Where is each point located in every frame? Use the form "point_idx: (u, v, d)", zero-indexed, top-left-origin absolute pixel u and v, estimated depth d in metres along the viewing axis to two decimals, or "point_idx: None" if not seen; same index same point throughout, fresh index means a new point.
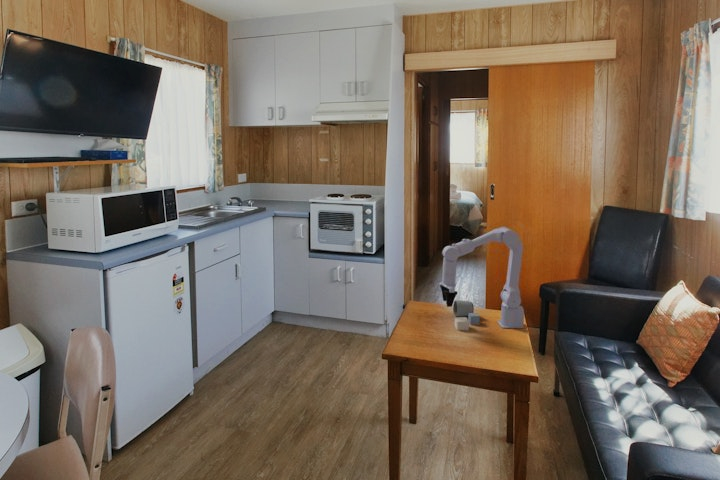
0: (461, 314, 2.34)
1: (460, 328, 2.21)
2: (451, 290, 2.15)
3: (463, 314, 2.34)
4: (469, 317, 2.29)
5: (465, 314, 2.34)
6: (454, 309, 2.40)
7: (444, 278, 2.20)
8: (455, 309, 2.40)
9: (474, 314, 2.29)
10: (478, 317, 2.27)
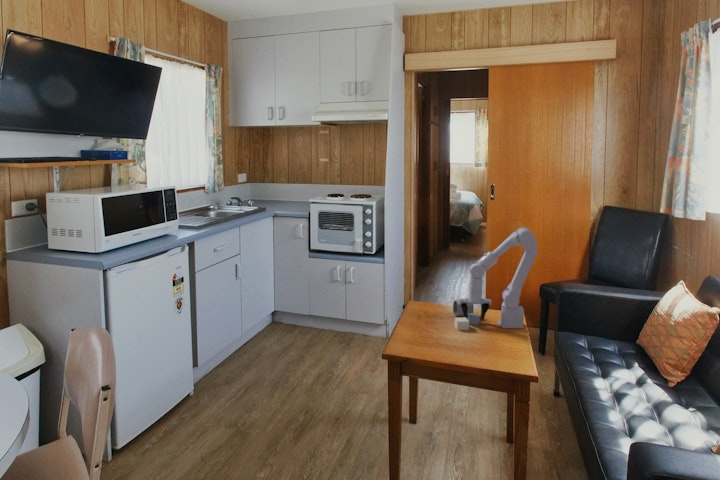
0: (461, 314, 2.34)
1: (460, 328, 2.20)
2: (458, 301, 2.27)
3: None
4: (469, 317, 2.29)
5: None
6: (454, 309, 2.40)
7: None
8: (455, 309, 2.40)
9: (474, 314, 2.29)
10: (478, 317, 2.27)
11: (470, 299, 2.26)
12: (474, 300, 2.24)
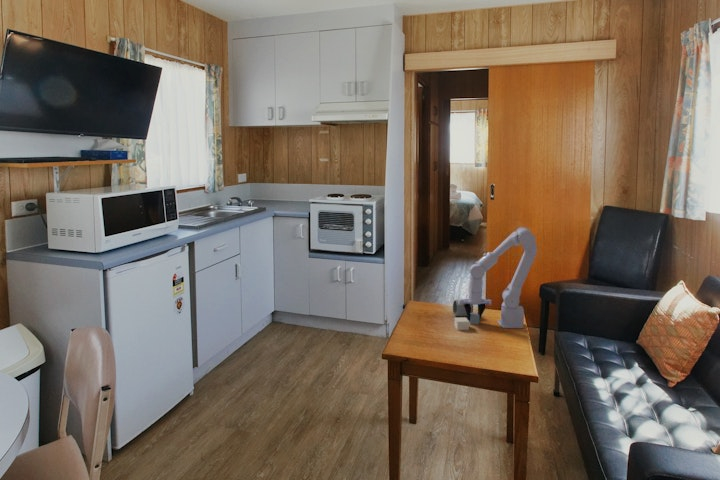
0: (460, 314, 2.35)
1: (460, 328, 2.20)
2: (458, 302, 2.27)
3: (462, 314, 2.35)
4: None
5: (464, 314, 2.35)
6: (454, 309, 2.41)
7: None
8: (455, 309, 2.41)
9: (474, 314, 2.29)
10: (478, 317, 2.27)
11: (470, 299, 2.26)
12: (474, 300, 2.24)
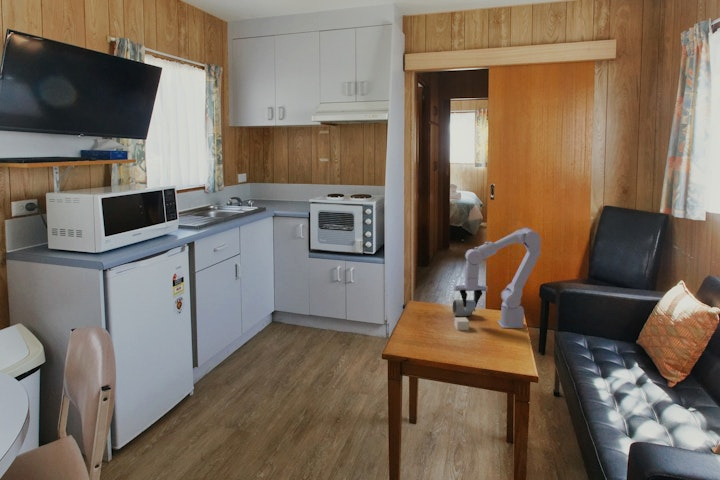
0: (460, 313, 2.35)
1: (460, 328, 2.20)
2: (454, 288, 2.24)
3: (462, 313, 2.35)
4: None
5: (464, 313, 2.35)
6: (453, 308, 2.41)
7: None
8: (454, 308, 2.41)
9: (470, 301, 2.25)
10: (474, 304, 2.23)
11: (466, 286, 2.22)
12: (470, 286, 2.21)
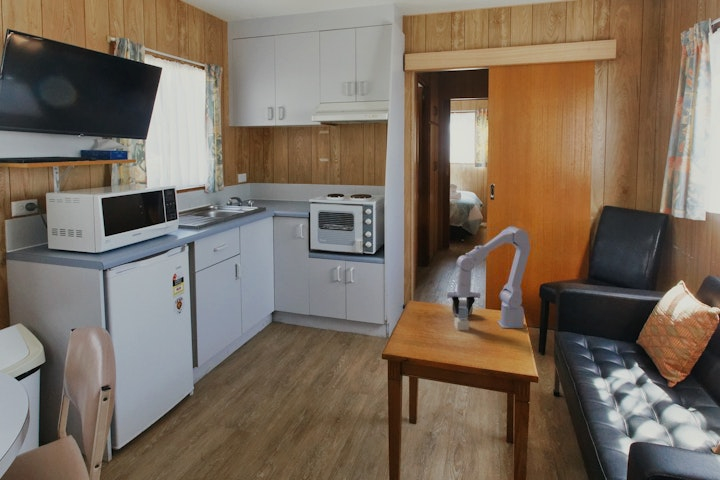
0: None
1: (460, 328, 2.20)
2: (446, 295, 2.20)
3: None
4: None
5: None
6: (453, 308, 2.41)
7: None
8: (454, 308, 2.41)
9: (463, 307, 2.21)
10: (467, 311, 2.20)
11: (458, 292, 2.18)
12: (462, 293, 2.17)
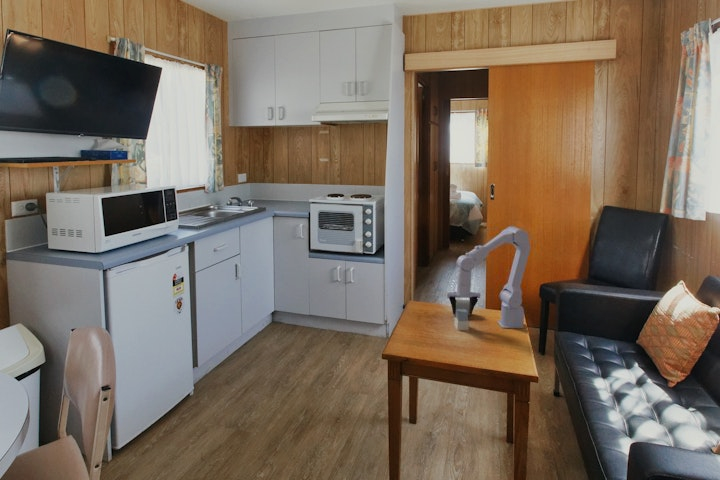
0: None
1: (460, 328, 2.20)
2: (446, 295, 2.20)
3: None
4: (457, 313, 2.21)
5: None
6: None
7: None
8: None
9: (462, 310, 2.22)
10: (466, 313, 2.20)
11: (458, 292, 2.18)
12: (462, 293, 2.17)
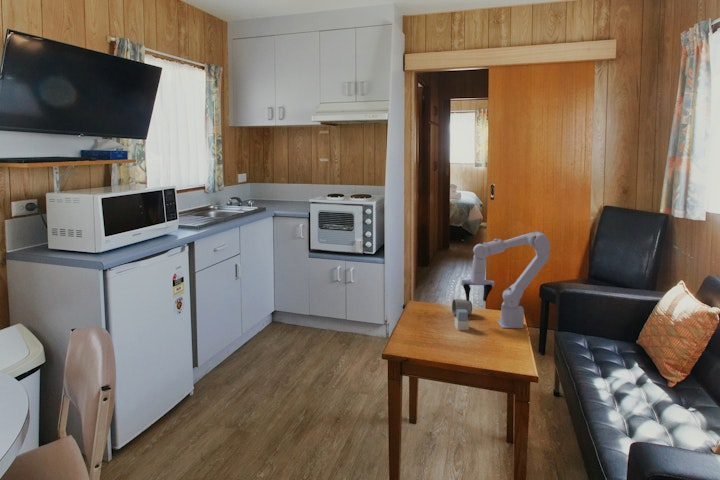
0: None
1: (460, 328, 2.20)
2: (461, 282, 2.26)
3: None
4: (457, 313, 2.22)
5: None
6: (453, 308, 2.42)
7: None
8: (454, 308, 2.42)
9: (462, 310, 2.22)
10: (466, 313, 2.20)
11: (473, 280, 2.24)
12: (477, 281, 2.23)
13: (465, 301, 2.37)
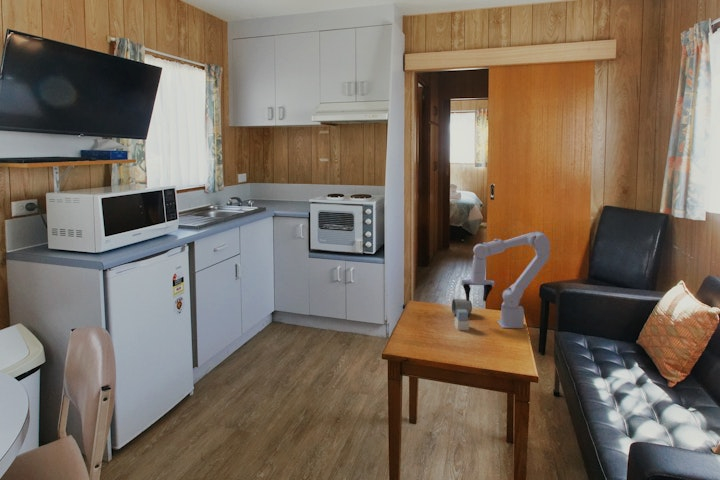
0: None
1: (461, 328, 2.20)
2: (461, 282, 2.26)
3: None
4: (457, 313, 2.21)
5: None
6: (453, 307, 2.42)
7: None
8: (454, 307, 2.42)
9: (462, 310, 2.22)
10: (466, 313, 2.20)
11: (473, 280, 2.24)
12: (477, 281, 2.23)
13: (465, 301, 2.37)
